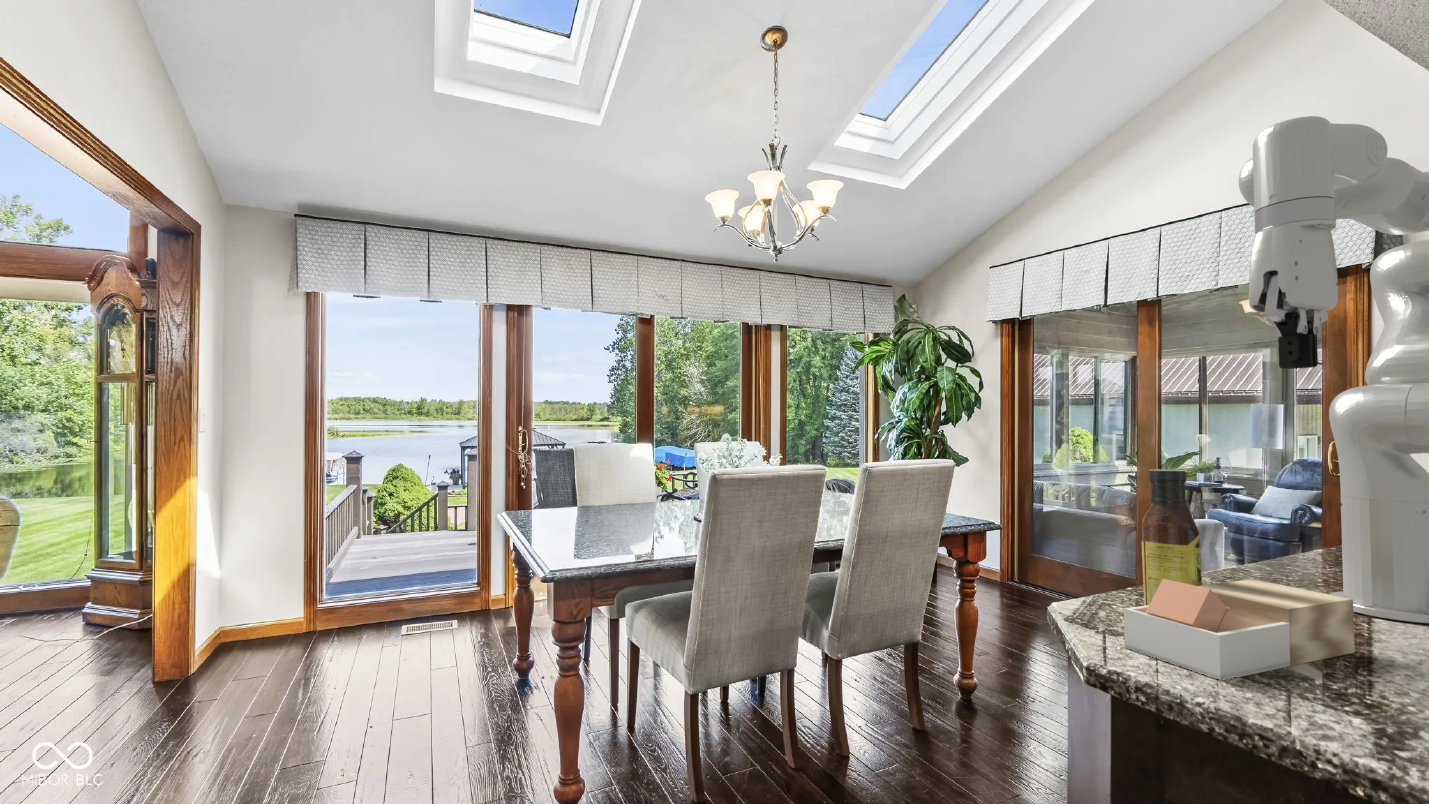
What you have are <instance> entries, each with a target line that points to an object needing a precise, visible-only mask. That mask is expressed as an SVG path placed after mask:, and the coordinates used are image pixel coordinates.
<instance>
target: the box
mask: <svg viewBox="0 0 1429 804" xmlns="http://www.w3.org/2000/svg"><path fill="white" fill-rule="evenodd" d="M1148 606H1149V605H1146V606H1144V605H1140V606H1133V607H1127V608H1126V607H1125V608H1123V619H1124V620H1123V622H1124V623H1123V625H1124V626H1123V634H1124V636H1123V637H1124V649H1126V648H1127V649H1126V650H1128V649H1131V650H1134V651H1136V652H1135V653H1137V652H1140V653H1142V654H1141V655H1143V654H1146V655H1148V656H1147V657H1149V656H1151V657H1150V658H1152V657H1153V659H1155V658H1157V659H1156V660H1158V659H1159V660H1158V661H1161V660H1162V661H1161V662H1164V661H1167V662H1170V663H1173V664H1175V665H1179V666H1181V667H1184V668H1187V669H1189V670H1188V671H1190V670H1193V671H1195V672H1194V673H1196V672H1200V673H1203V674H1204V675H1209V676H1210V677H1213V678H1216V679H1219V680H1223V679H1227V680H1231V679H1230V678H1232V679H1235V678H1234V677H1237V678H1242V677H1245V676H1246V677H1247V676H1249V675H1250V676H1251V675H1255V674H1259V673H1260V674H1261V673H1264V672H1268V671H1273V670H1279V669H1282V668H1284V669H1285V668H1288V667H1291V666H1290V639H1289V623H1285V622H1279V623H1273V624H1267V625H1261V626H1255V627H1249V628H1243V629H1237V630H1232V631H1226V632H1220V633H1215V632H1211V631H1208V630H1204V629H1201V628H1197V627H1193V626H1190V625H1186V624H1183V623H1179V622H1176V621H1172V620H1168V619H1165V618H1161V617H1158V616H1154V615H1151V614H1147V613H1146V610H1147V608H1148ZM1131 650H1130V651H1131ZM1134 651H1133V652H1134ZM1140 653H1139V654H1140ZM1146 655H1145V656H1146ZM1175 665H1174V666H1175ZM1181 667H1180V668H1181ZM1184 668H1183V669H1184ZM1187 669H1186V670H1187ZM1193 671H1192V672H1193ZM1204 675H1203V676H1204ZM1210 677H1209V678H1210ZM1213 678H1212V679H1213ZM1216 679H1215V680H1216ZM1219 680H1218V681H1219ZM1223 681H1224V680H1223Z"/></svg>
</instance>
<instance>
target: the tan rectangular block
mask: <svg viewBox="0 0 1429 804" xmlns="http://www.w3.org/2000/svg"><path fill="white" fill-rule="evenodd" d="M1199 587H1204V588H1208V589H1211V590H1212V592H1213V593H1214V594H1215V595H1216V596H1217V597H1218V598H1219V599H1220V601H1221V602H1222V603H1223V604H1224V605H1225V606H1226V607H1229V608H1230V609H1231V610H1232V611H1233V612H1234V613H1235V614H1236V615H1237V617H1238V618H1239V619H1240V620H1241V621H1242V622H1243V623H1244V624H1245V625H1246V627H1247V628H1249V627H1255V626H1261V625H1267V624H1273V623H1279V622H1285V623H1289V639H1290V666H1289V667H1292V666H1298V665H1302V664H1306V663H1311V662H1317V661H1322V660H1325V659H1331V658H1334V657H1340V656H1344V655H1348V654H1354V653H1355V649H1356V648H1355V624H1354V623H1355V621H1354V612H1353V599H1350V598H1345V597H1340V596H1335V595H1330V593H1324V592H1320V591H1319V592H1318V591H1314V590H1310V589H1305V588H1299V587H1294V586H1289V585H1285V584H1284V585H1283V584H1279V583H1274V582H1269V581H1265V580H1260V579H1259V580H1258V579H1254V578H1250V579H1243V580H1235V581H1233V580H1232V581H1226V582H1220V583H1211V584H1205V585H1204V584H1202V586H1199Z"/></svg>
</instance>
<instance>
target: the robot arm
mask: <svg viewBox="0 0 1429 804" xmlns="http://www.w3.org/2000/svg"><path fill="white" fill-rule="evenodd" d="M1238 187H1239V191H1240V193H1241V196H1242V197H1243V199H1244V200H1245V201H1246V202H1247V203H1248V204H1249V205H1250V206H1251V207H1252V208H1253V209H1254V210H1253V212H1254V236H1253V240H1252V245H1251V253H1250V261H1249V263H1250V264H1249V275H1248V278H1249V279H1248V306H1249V307H1250V309H1252V311H1255V312H1256V313H1261V314H1264V316H1265V318H1266V319H1268V320H1269V321H1272V322H1273V323H1274V328H1275V335H1276V337H1278V338H1277V339H1278V342H1277V343H1278V366H1279V368H1281V369H1284V370H1285V369H1288V370H1292V369H1294V370H1295V369H1308V368H1309V369H1310V368H1316V367H1317V366H1318V365H1319V357H1318V353H1319V352H1318V335H1319V333H1320V324H1321V323H1325V322H1327V321H1328V319H1329V317H1328V311H1331V310H1332V309H1334V308H1335V307H1336V306H1337V305H1338V300H1339V281H1338V269H1337V267H1338V266H1337V259H1336V258H1337V257H1336V252H1335V245H1334V240H1333V234H1332V231H1333V230H1335V229H1336V228H1337V220H1352V221H1356V222H1358V223H1360V224H1362V225H1364V226H1367V227H1369V228H1371V229H1373V230H1375V231H1378V232H1380V233H1383V234H1387V235H1393V236H1394V235H1395V236H1398V235H1399V236H1401V235H1403V236H1404V235H1412V234H1417V233H1422V232H1428V231H1429V171H1424V172H1423V171H1421V170H1420V169H1418V168H1416V167H1415V166H1413V165H1411V164H1409V163H1408V162H1406V161H1404V160H1402V159H1399V158H1395V157H1388V144H1387V141H1386V139H1385V137H1384V136H1383V134H1381V133H1380V132H1378V131H1377V130H1376V129H1374V128H1372V127H1371V126H1368V125H1365V124H1359V123H1333V122H1330V121H1329V120H1328V119H1327V118H1326V117H1323V116H1316V115H1311V116H1310V115H1309V116H1307V115H1306V116H1302V117H1301V116H1300V117H1293V118H1290V119H1285V120H1284V121H1283V120H1282V121H1280V122H1276V123H1275V124H1272V125H1270V126H1267V127H1266V128H1264V129H1263V130H1261V131H1260V132H1258V134H1257V135H1256V136H1255V139H1254V140H1253V143H1252V157H1251V158H1249V159H1248V160H1247V161H1246V162H1245V164H1244V165H1243V166H1242V167H1241V169H1240V171H1239V175H1238ZM1369 270H1370V271H1369V280H1370V281H1369V282H1370V287H1371V291H1372V295H1373V299H1374V302H1375V305H1376V307H1377V309H1378V313H1379V315H1380V317H1381V319H1382V321H1383V324H1384V325H1383V328H1382V331H1381V333H1380V335H1379V338H1378V340H1377V342H1376V344H1375V346H1374V348H1373V350H1372V352H1371V355H1370V356H1369V359H1368V362H1367V364H1366V368H1365V374H1364V377H1365V378H1364V379H1365V383H1366V385H1362V386H1356V387H1352V388H1349V389H1346V390H1344V391H1342V392H1340V393H1338V394H1337V395H1336V396H1335V397H1334V398H1333V400H1332V401H1331V403H1330V405H1329V410H1328V419H1329V423H1330V424H1329V425H1330V428H1331V433H1332V435H1333V440H1334V444H1335V448H1336V454H1337V459H1338V467H1339V482H1340V515H1341V517H1340V519H1341V521H1340V522H1341V523H1340V524H1341V554H1342V555H1341V556H1342V559H1341V560H1342V583H1343V584H1342V585H1343V586H1342V588H1343V589H1342V590H1343V591H1334V592H1330V593H1329V594H1330V595H1335V596H1340V597H1345V598H1350V599H1353V613H1358V614H1362V615H1367V616H1370V617H1375V618H1376V617H1377V618H1381V619H1388V620H1393V621H1400V622H1401V621H1402V622H1410V623H1417V624H1418V623H1419V624H1427V625H1428V624H1429V472H1428V471H1427V470H1426V468H1424V467H1423V466H1422V465H1421V464H1419V462H1417V460H1415V459H1414V458H1413V456H1411V455H1412V454H1415V455H1416V454H1417V455H1418V454H1429V239H1424V240H1418V241H1413V242H1409V243H1405V244H1402V245H1398V246H1395V247H1393V248H1390V249H1388V250H1386V251H1384V252H1383V253H1381V254H1379V255H1378V256H1377V257H1376V258H1375V259H1374V260H1373V262H1372V264H1371V267H1370V269H1369Z"/></svg>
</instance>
